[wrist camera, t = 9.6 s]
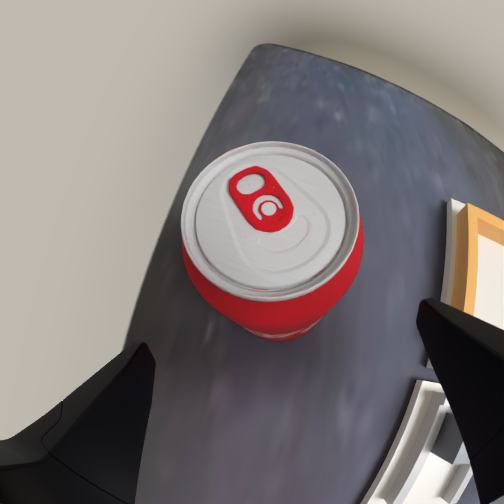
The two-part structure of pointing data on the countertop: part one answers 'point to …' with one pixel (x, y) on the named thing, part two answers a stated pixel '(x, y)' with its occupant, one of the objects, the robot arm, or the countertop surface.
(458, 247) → the socket board
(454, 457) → the block
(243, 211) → the beverage can
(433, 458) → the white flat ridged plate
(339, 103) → the countertop surface
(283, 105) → the countertop surface
